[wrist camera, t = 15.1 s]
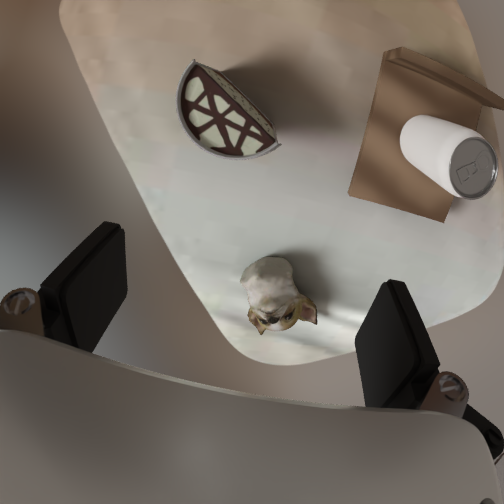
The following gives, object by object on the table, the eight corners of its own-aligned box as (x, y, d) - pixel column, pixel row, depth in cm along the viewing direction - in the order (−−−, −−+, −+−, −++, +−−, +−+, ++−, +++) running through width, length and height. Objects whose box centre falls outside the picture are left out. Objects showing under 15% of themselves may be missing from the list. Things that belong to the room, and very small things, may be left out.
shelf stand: (377, 53, 30) (402, 46, 22) (468, 93, 30) (506, 101, 22) (343, 185, 39) (358, 212, 31) (432, 210, 39) (460, 240, 31)
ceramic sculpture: (300, 273, 36) (323, 351, 43) (297, 235, 43) (319, 310, 51) (215, 292, 39) (254, 362, 46) (225, 252, 46) (258, 322, 53)
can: (452, 151, 31) (508, 183, 20) (413, 176, 33) (459, 217, 23) (431, 104, 29) (488, 119, 18) (388, 130, 31) (433, 153, 21)
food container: (178, 98, 35) (146, 104, 27) (212, 63, 33) (188, 57, 24) (245, 164, 39) (234, 189, 30) (282, 132, 36) (281, 148, 28)
